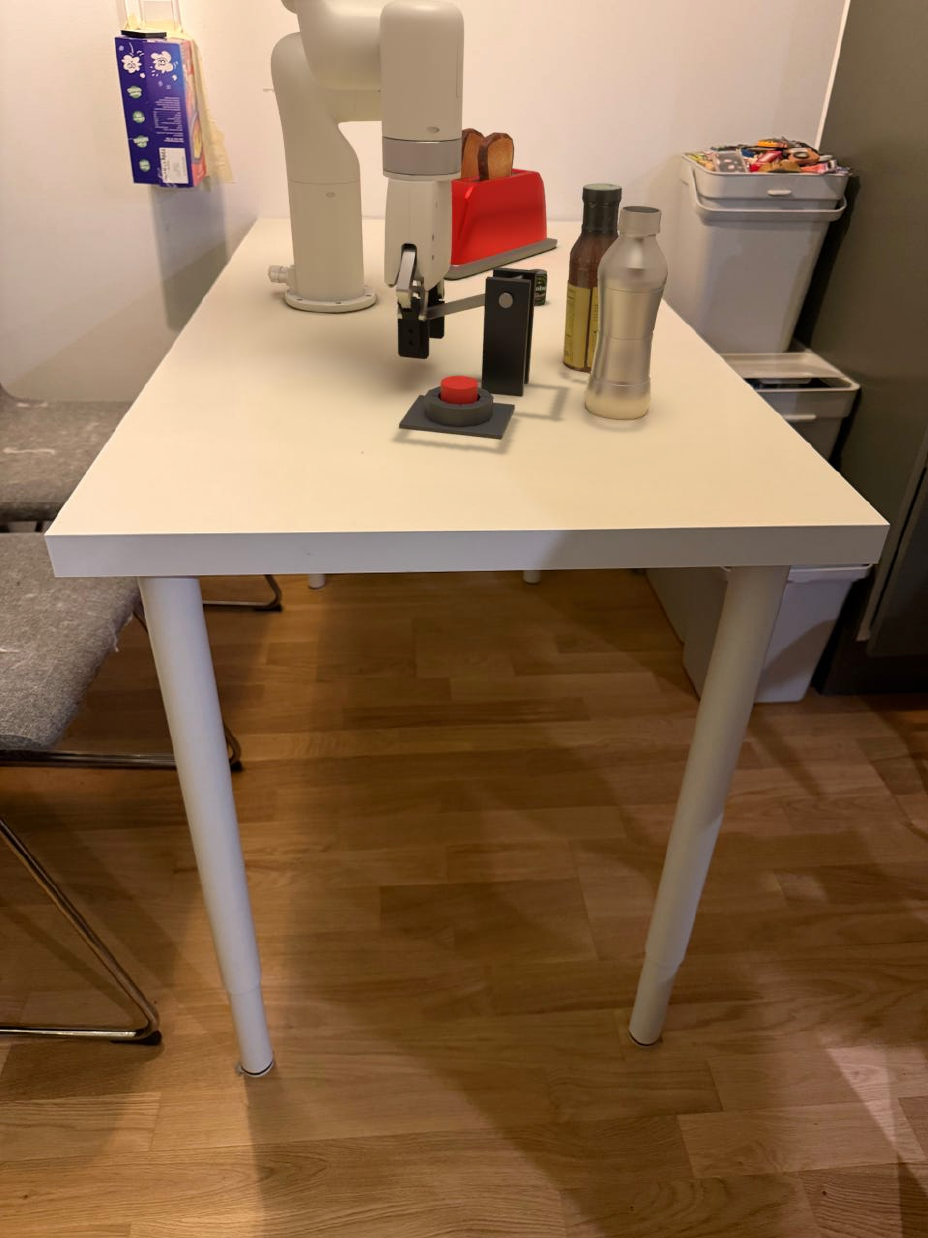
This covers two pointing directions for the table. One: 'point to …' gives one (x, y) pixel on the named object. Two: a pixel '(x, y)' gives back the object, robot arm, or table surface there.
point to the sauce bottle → (588, 272)
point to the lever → (457, 305)
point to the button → (459, 390)
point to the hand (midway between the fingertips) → (421, 345)
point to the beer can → (540, 286)
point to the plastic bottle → (627, 317)
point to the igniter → (459, 415)
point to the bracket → (508, 330)
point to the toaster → (494, 207)
